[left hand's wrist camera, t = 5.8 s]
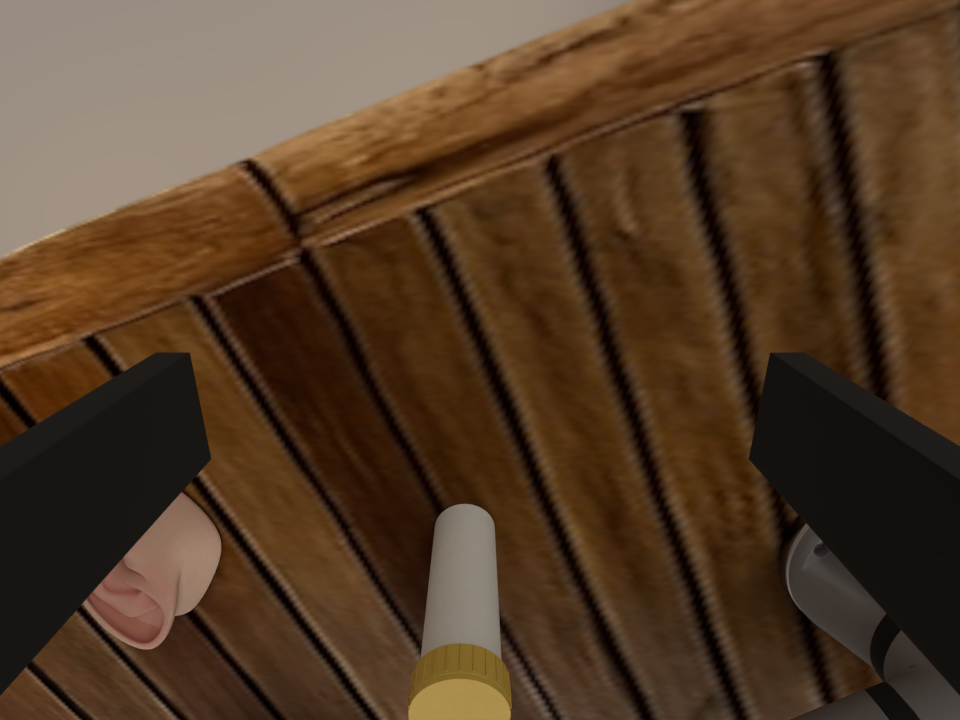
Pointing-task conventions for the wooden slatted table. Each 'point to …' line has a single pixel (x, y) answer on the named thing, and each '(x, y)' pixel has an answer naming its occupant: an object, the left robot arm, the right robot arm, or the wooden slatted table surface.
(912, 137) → the wooden slatted table surface
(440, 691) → the lid
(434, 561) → the bottle
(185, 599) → the anatomical model
